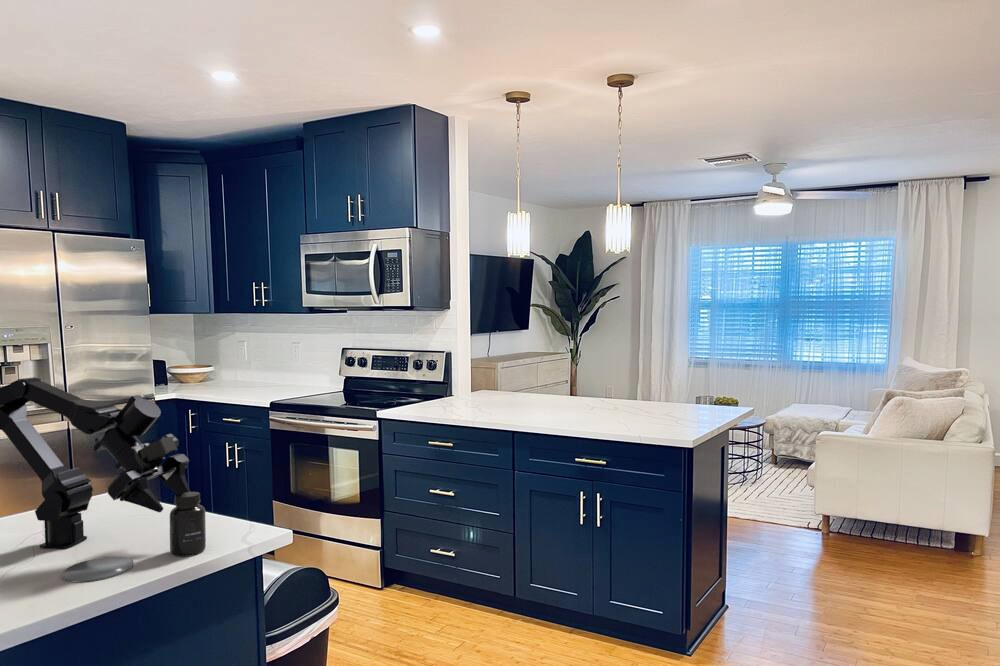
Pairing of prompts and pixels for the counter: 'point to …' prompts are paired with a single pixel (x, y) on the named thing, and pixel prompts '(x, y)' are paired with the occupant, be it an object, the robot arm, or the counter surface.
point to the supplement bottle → (187, 525)
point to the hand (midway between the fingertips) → (176, 504)
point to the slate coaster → (98, 568)
